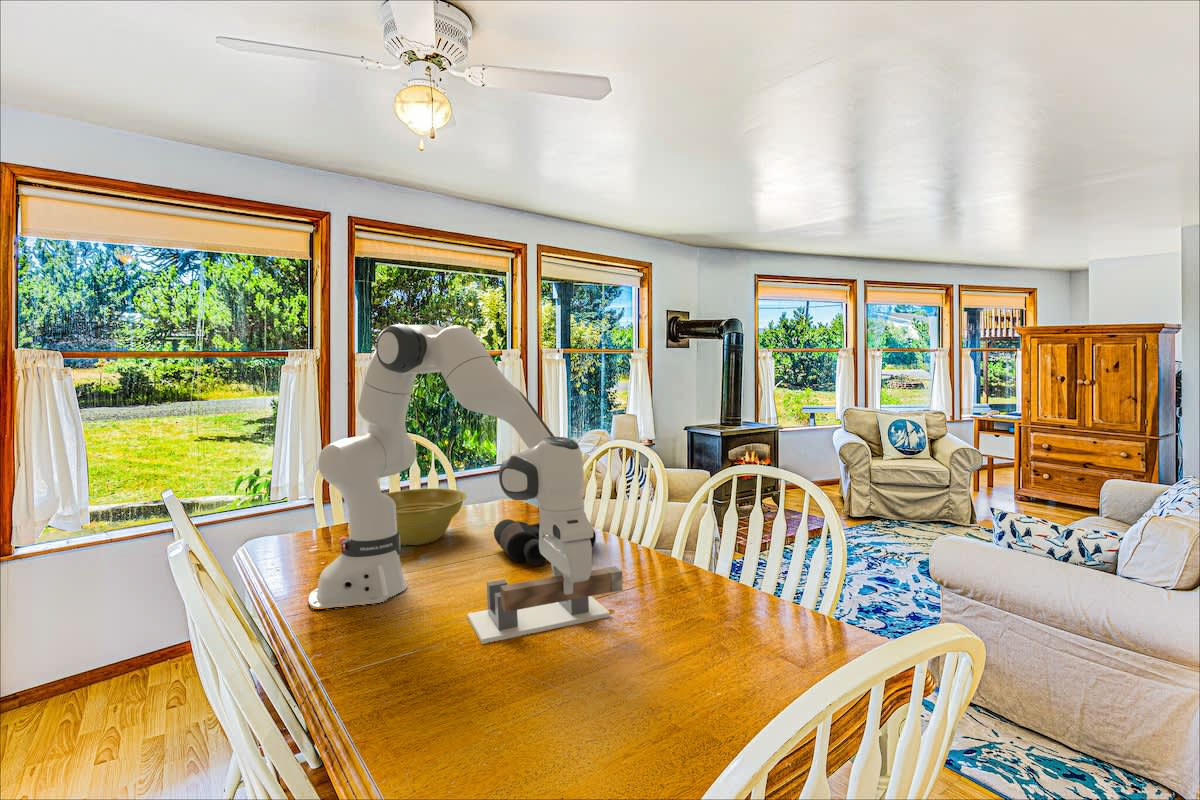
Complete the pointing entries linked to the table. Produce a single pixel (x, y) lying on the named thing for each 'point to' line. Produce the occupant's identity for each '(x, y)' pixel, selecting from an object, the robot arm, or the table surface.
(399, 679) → the table surface
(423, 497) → the planter bowl
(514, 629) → the board
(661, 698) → the table surface
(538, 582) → the walnut bar
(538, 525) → the binoculars
